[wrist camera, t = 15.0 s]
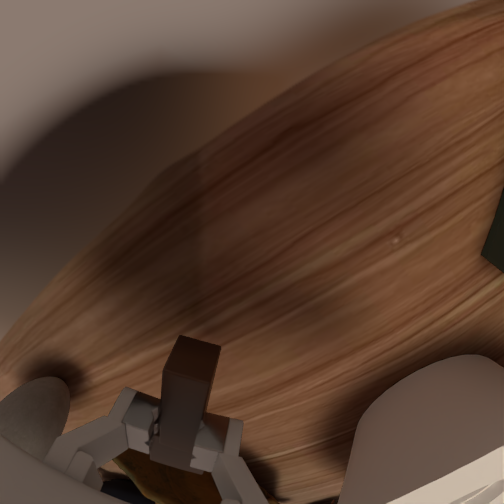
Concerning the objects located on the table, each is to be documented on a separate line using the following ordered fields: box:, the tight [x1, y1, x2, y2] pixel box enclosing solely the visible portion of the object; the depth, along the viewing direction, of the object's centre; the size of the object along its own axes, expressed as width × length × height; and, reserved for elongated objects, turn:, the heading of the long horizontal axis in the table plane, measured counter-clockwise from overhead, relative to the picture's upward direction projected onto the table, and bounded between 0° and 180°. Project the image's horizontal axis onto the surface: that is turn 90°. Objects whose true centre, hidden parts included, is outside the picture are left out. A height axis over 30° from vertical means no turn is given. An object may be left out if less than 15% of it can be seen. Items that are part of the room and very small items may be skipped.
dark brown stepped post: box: [150, 335, 221, 475], centre depth 12 cm, size 8×3×2 cm, turn 167°
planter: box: [0, 377, 70, 461], centre depth 20 cm, size 18×7×19 cm, turn 125°
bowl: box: [337, 355, 504, 504], centre depth 19 cm, size 24×24×12 cm
